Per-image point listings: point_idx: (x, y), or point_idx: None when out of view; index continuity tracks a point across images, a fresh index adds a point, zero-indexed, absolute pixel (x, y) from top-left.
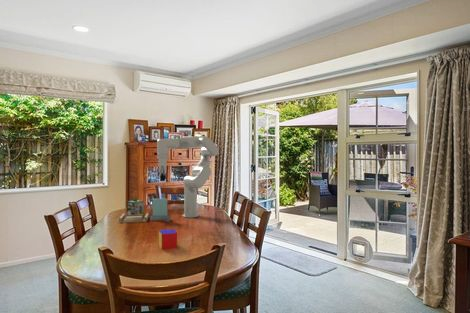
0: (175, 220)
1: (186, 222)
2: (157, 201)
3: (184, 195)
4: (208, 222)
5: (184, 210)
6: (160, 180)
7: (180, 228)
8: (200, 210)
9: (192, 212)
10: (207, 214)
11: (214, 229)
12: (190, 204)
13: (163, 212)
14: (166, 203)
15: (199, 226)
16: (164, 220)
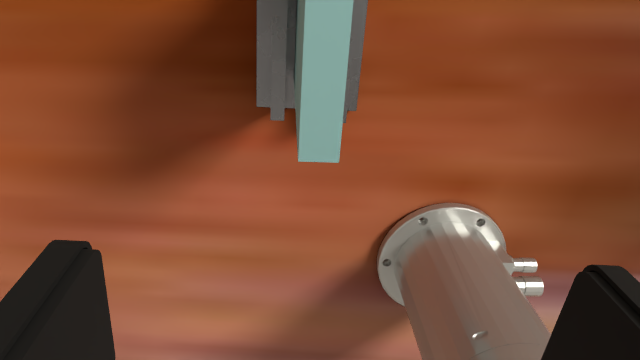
0: None
1: (225, 220)
2: (303, 11)
3: (517, 349)
4: (207, 341)
5: (452, 245)
6: (53, 254)
7: (26, 172)
8: None
9: (400, 290)
10: None
11: None
12: (417, 327)
13: (296, 64)
14: (297, 129)
15: None
16: (270, 56)
